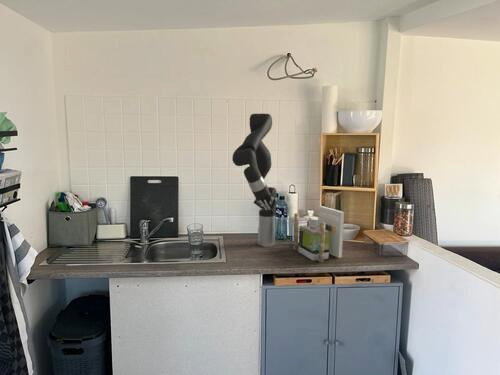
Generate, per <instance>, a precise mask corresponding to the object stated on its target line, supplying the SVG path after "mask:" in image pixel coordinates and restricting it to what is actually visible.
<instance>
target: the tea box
mask: <svg viewBox="0 0 500 375" xmlns="http://www.w3.org/2000/svg"><path fill="white" fill-rule="evenodd" d="M329 237H330V231H328V230H326V229H325V243H324V260H326V259H327V260H328V259H329V256H330V254H329ZM319 240H320V227H319V226H316V225H300V226H299V230H298V253H300V254H301V255H303V256H305V257H307V258H309V259H310V260H311V261H319Z"/></svg>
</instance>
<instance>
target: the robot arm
mask: <svg viewBox="0 0 500 375" xmlns="http://www.w3.org/2000/svg"><path fill="white" fill-rule="evenodd" d="M272 126H273V118H272V115H271V114H269V113H252V114H251V115H250V116H249V129H250V133H249V134H248V135H247V136H246V137H245V138H244V141H243V142H242V144H241V145H240V146H238V147H237V148H236V149H235V150H234V152H233V153H232V163H233V165H235V166H237V167H243V166H246V165H247V167H246V168H244V170H243V175H244V177H245V179H246V182H247V184H248V187H249V189H250V191H251V192H252V194H253V197H254V198H255V199H254V201H253V204H255V206H257V207H259V208H260V210H258V227H257V228H258V229H257V233H258V234H257V245H258V246H260V247H264V248H268V247H269V248H270V247H273V246H275V243H276V242H275V240H276V239H275V238H276V210H277V209H276V208H277V200H278V196H277V188H275V187H271V186H270V187H269V186H268V185H267V183H266V181H265V179H266V177H267V175H268V173H269V172H270V170H271V168H272V155H271V152H270V150H269V149H268V147H267V146H266V144H264V142H263V140H264V138H265V137H266V136H267V135H268V133H270V131H271V129H272Z"/></svg>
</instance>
